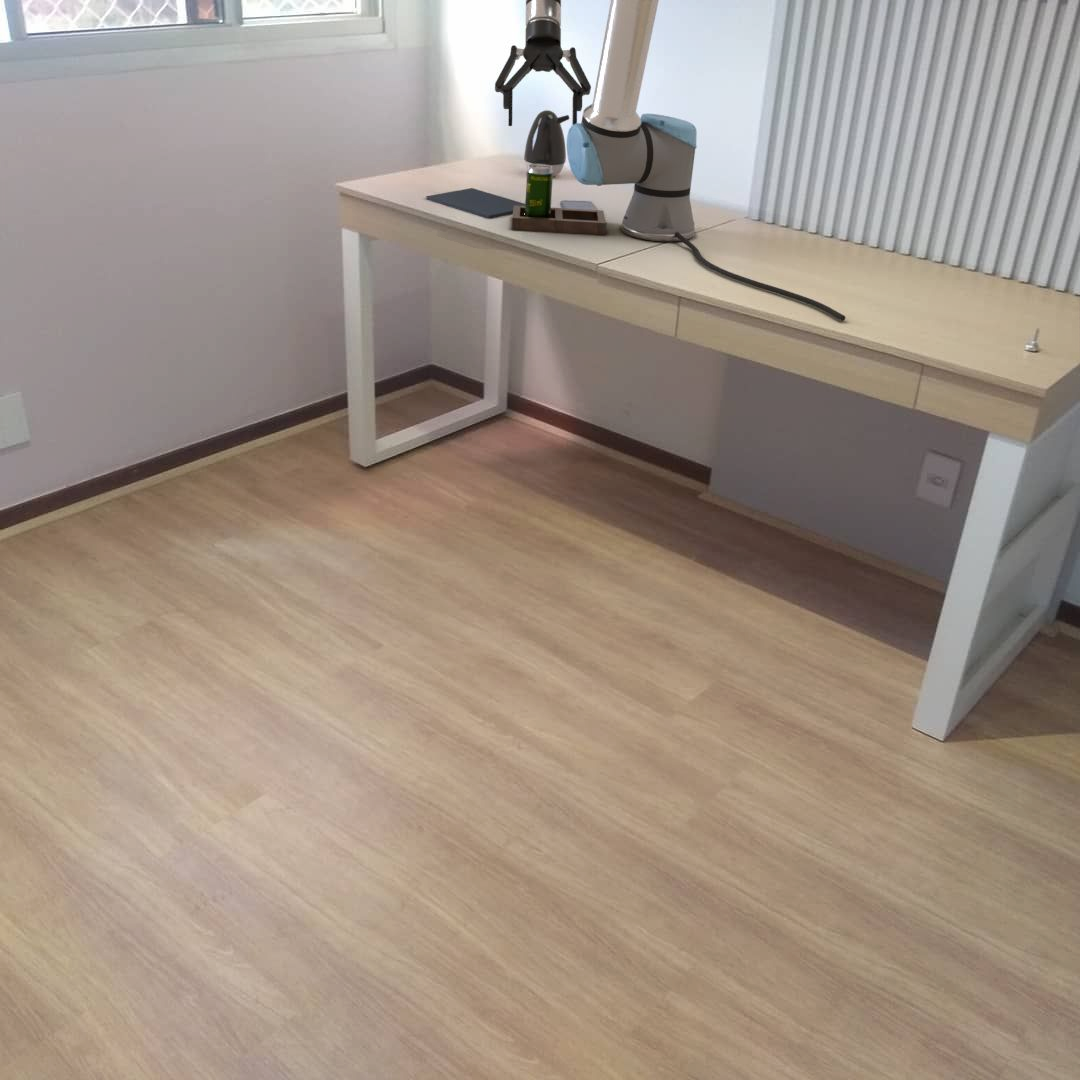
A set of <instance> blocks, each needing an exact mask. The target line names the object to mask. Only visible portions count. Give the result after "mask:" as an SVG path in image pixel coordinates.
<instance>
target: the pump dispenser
mask: <svg viewBox="0 0 1080 1080" xmlns="http://www.w3.org/2000/svg"><path fill="white" fill-rule="evenodd" d="M569 120H570V115H569V114H566V115H562V116H559V117H558V116H557V114H556V113H555V112H554V111H552V110H548V109H545V110H543V111H540V112H539V113H538V114H537V115H536V117H535V118H534V120H533V122H532V124H531V127H530V130H529V131H528V135H527V139H526V143H525V147H524V153H523V160H524V162H525V166H526V169H527V170H528V168H529V167H528V166H529V165H530V164H546V165H550V166H552V171H553V178H554V177H556V176H558V175H559V174H560V173H561V172H562V170H563V168H564V165H565V163H566V161H567V147H566V139H565V136H564V131H563V128H562V123H564V122H566V121H569Z"/></svg>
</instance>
